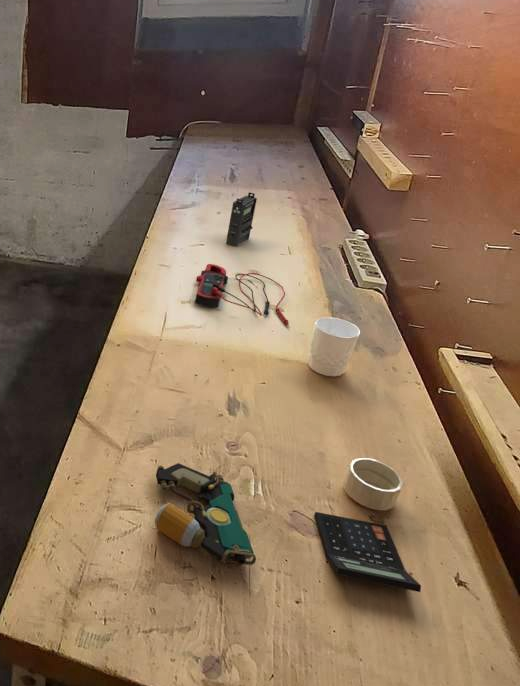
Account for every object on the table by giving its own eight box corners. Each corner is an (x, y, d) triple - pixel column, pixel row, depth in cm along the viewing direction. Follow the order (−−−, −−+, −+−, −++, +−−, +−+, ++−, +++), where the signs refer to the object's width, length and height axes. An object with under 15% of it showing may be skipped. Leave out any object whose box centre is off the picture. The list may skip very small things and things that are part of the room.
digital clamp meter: (188, 293, 140) (203, 255, 159) (186, 309, 142) (201, 269, 161) (293, 312, 130) (295, 269, 149) (289, 329, 132) (292, 284, 151)
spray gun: (157, 467, 96) (253, 498, 90) (140, 541, 82) (251, 583, 76) (161, 448, 94) (259, 477, 88) (144, 520, 80) (259, 561, 74)
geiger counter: (237, 248, 174) (246, 202, 167) (223, 244, 177) (231, 199, 170) (253, 238, 180) (262, 194, 173) (239, 235, 183) (247, 191, 176)
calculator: (384, 529, 83) (390, 515, 81) (414, 603, 73) (422, 588, 72) (314, 515, 85) (318, 501, 84) (333, 585, 75) (339, 570, 74)
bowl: (363, 473, 92) (370, 452, 90) (404, 504, 87) (413, 483, 85) (333, 486, 90) (340, 465, 88) (373, 518, 85) (381, 497, 83)
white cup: (342, 359, 121) (354, 319, 116) (351, 381, 114) (365, 340, 109) (301, 354, 123) (311, 314, 118) (308, 375, 116) (319, 334, 112)
